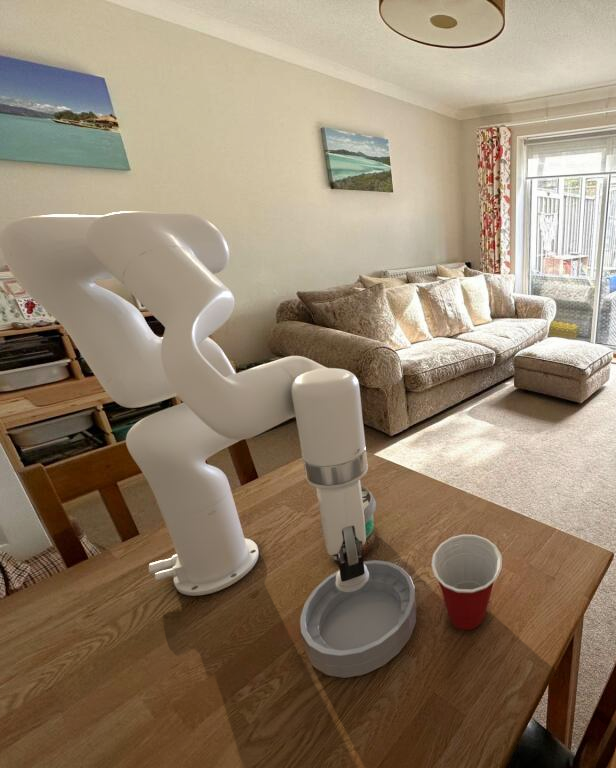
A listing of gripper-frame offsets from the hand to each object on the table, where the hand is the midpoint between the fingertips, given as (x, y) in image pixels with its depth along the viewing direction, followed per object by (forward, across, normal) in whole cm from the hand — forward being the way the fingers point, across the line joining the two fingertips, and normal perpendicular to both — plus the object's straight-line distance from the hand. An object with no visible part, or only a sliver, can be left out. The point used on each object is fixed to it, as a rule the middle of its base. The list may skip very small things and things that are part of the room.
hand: (350, 566), depth 60 cm
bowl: (+12, +1, +1) cm, 12 cm away
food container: (+12, -16, +4) cm, 21 cm away
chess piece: (+3, 0, 0) cm, 3 cm away
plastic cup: (+12, +7, +16) cm, 21 cm away
